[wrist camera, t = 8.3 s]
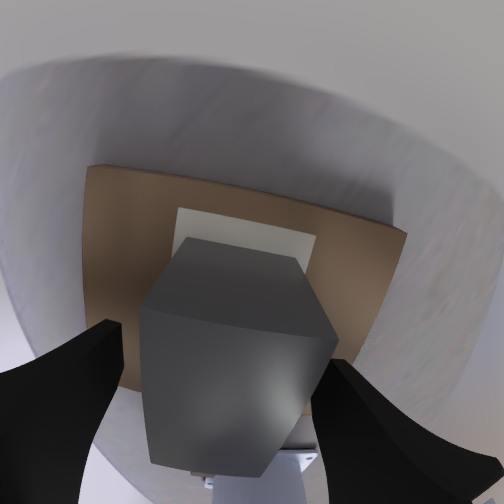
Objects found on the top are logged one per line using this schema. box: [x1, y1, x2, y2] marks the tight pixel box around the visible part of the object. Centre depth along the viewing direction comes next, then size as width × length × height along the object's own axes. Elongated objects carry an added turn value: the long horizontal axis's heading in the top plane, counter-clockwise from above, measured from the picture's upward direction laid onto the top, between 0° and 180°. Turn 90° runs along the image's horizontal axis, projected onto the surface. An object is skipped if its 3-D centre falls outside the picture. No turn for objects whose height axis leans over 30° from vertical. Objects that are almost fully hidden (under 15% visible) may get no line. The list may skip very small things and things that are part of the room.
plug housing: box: [139, 237, 339, 478], centre depth 9 cm, size 9×4×5 cm, turn 168°
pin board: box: [82, 165, 408, 415], centre depth 10 cm, size 11×13×4 cm
